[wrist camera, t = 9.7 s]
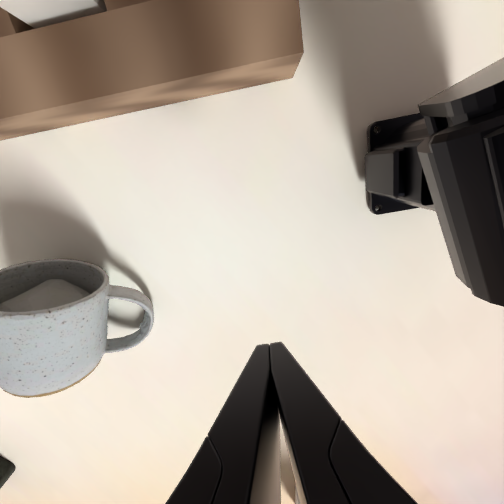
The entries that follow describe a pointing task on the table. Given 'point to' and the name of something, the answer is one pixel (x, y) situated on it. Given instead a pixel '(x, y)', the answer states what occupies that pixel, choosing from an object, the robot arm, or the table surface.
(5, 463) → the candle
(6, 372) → the ceramic mug
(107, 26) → the button board
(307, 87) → the table surface
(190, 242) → the table surface
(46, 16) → the middle button
